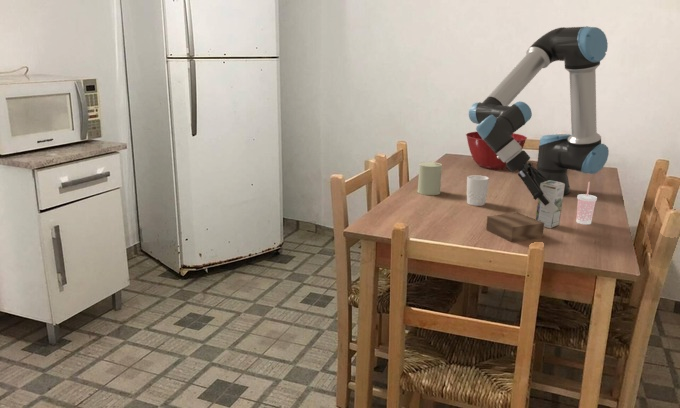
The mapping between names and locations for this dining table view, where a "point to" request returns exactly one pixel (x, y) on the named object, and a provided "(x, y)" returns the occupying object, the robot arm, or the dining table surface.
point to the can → (429, 178)
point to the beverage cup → (585, 207)
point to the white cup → (477, 189)
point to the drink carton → (556, 196)
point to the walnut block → (515, 227)
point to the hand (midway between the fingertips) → (556, 206)
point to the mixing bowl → (488, 150)
